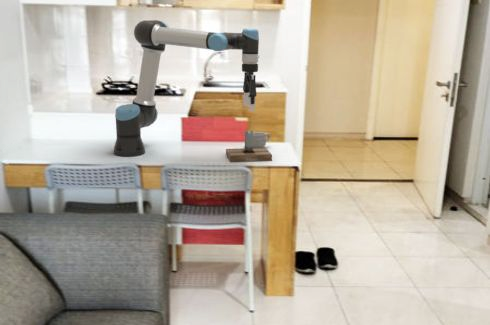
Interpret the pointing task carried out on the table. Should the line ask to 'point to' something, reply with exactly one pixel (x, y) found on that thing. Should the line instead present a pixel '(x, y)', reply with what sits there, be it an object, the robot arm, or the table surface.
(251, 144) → the peg
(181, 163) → the table surface
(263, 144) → the teacup
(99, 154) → the table surface
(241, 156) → the socket block
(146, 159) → the table surface
